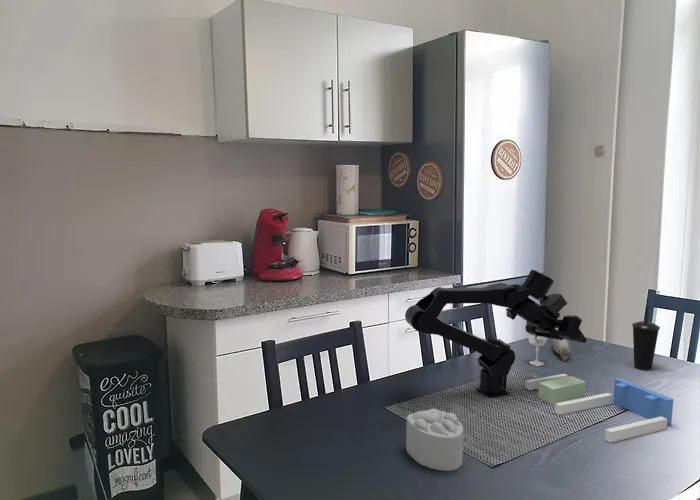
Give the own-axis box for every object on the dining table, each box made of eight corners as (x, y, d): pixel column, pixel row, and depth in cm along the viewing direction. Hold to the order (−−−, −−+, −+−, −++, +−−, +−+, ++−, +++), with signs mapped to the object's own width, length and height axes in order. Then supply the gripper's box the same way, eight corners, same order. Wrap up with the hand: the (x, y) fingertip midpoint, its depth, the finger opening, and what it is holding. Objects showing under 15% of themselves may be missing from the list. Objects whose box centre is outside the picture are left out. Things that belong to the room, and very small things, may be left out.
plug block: (552, 405, 142) (553, 389, 141) (538, 398, 146) (538, 382, 146) (584, 397, 147) (585, 381, 147) (570, 391, 152) (571, 375, 151)
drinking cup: (623, 365, 172) (627, 304, 169) (640, 362, 175) (644, 301, 172) (645, 373, 165) (650, 309, 162) (662, 369, 168) (667, 306, 166)
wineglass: (548, 366, 171) (550, 329, 169) (530, 366, 171) (532, 329, 170) (542, 360, 177) (544, 324, 175) (524, 360, 177) (526, 324, 175)
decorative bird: (555, 361, 176) (557, 339, 175) (549, 347, 191) (550, 326, 190) (573, 363, 175) (574, 340, 174) (565, 348, 190) (567, 327, 189)
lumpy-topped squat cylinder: (440, 437, 124) (441, 401, 123) (474, 465, 112) (476, 425, 111) (400, 446, 120) (400, 409, 118) (431, 475, 108) (432, 434, 107)
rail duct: (610, 442, 121) (612, 415, 120) (514, 390, 151) (515, 368, 150) (675, 426, 129) (677, 400, 129) (571, 380, 159) (572, 359, 158)
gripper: (567, 287, 142) (609, 316, 146) (524, 287, 160) (563, 313, 163) (550, 324, 140) (594, 353, 143) (508, 320, 158) (548, 346, 161)
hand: (574, 339), depth 153 cm, fingers open, 9 cm apart
